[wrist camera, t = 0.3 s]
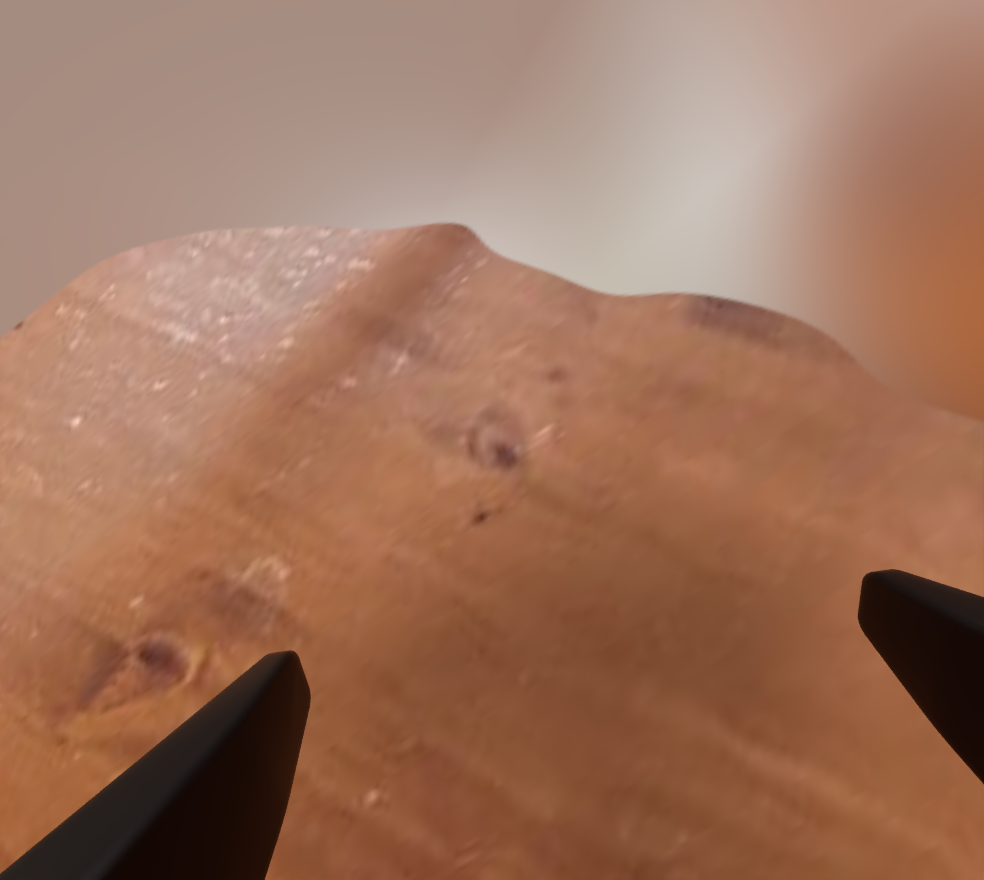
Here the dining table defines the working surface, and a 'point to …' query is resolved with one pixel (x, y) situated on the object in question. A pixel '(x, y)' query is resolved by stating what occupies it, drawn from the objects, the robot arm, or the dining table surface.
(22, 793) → the dining table surface
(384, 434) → the dining table surface
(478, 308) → the dining table surface
